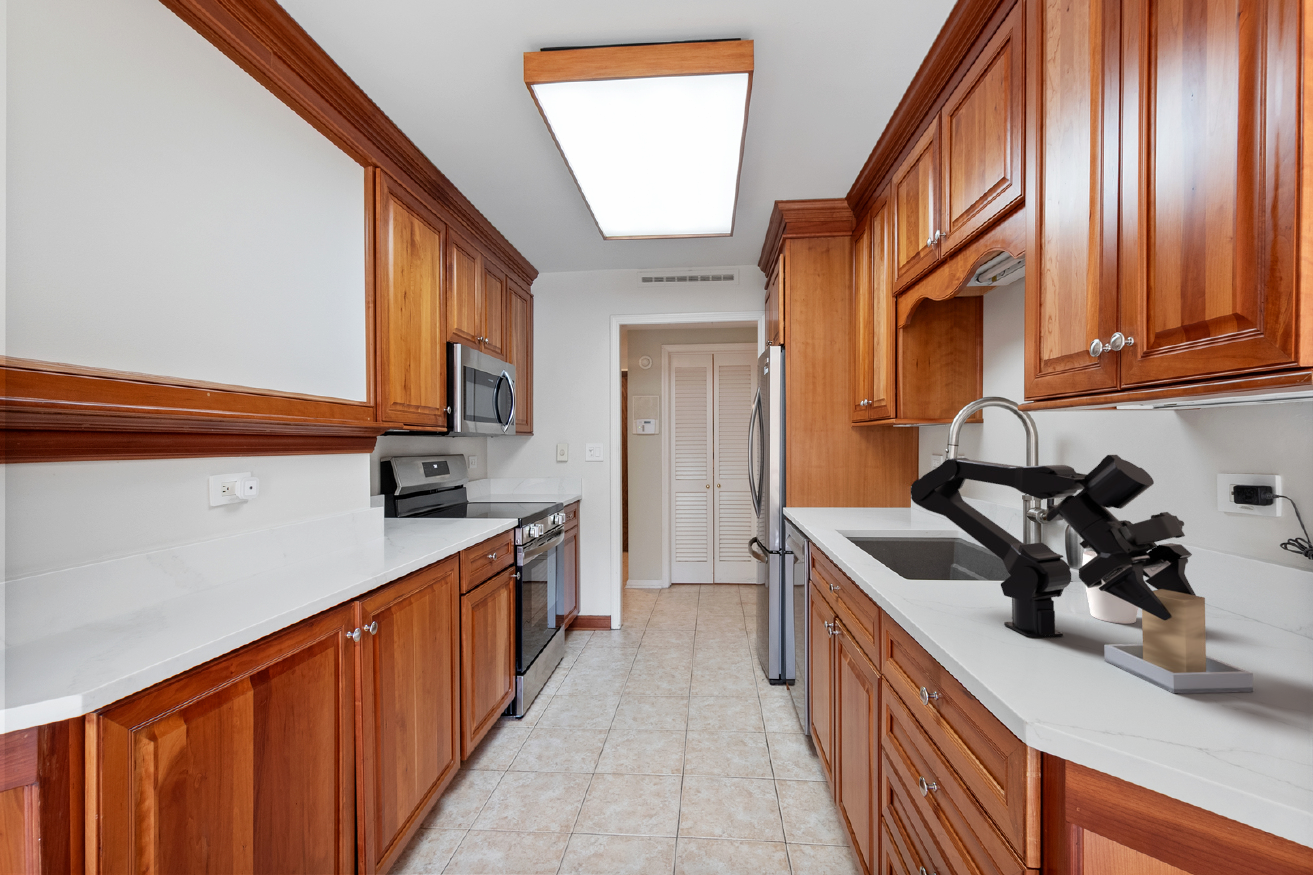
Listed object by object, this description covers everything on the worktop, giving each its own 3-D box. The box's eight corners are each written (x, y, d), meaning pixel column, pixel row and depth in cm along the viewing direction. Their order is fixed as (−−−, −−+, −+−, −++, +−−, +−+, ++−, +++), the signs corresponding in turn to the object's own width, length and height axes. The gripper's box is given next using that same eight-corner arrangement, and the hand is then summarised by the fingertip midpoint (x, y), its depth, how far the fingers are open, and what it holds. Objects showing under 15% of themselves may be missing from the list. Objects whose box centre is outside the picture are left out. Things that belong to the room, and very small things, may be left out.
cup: (1083, 608, 111) (1082, 548, 111) (1143, 616, 105) (1142, 554, 105) (1082, 619, 104) (1081, 556, 104) (1145, 629, 98) (1144, 562, 98)
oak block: (1143, 667, 81) (1141, 592, 81) (1163, 662, 83) (1161, 588, 83) (1186, 680, 76) (1184, 601, 76) (1206, 675, 78) (1204, 597, 78)
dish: (1104, 660, 85) (1104, 644, 85) (1173, 659, 85) (1173, 643, 85) (1173, 693, 74) (1173, 674, 74) (1253, 691, 74) (1252, 673, 74)
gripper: (1100, 497, 80) (1199, 592, 69) (1174, 492, 87) (1274, 577, 76) (1045, 542, 87) (1127, 634, 77) (1117, 534, 94) (1202, 617, 84)
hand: (1184, 615), depth 78 cm, fingers open, 8 cm apart
